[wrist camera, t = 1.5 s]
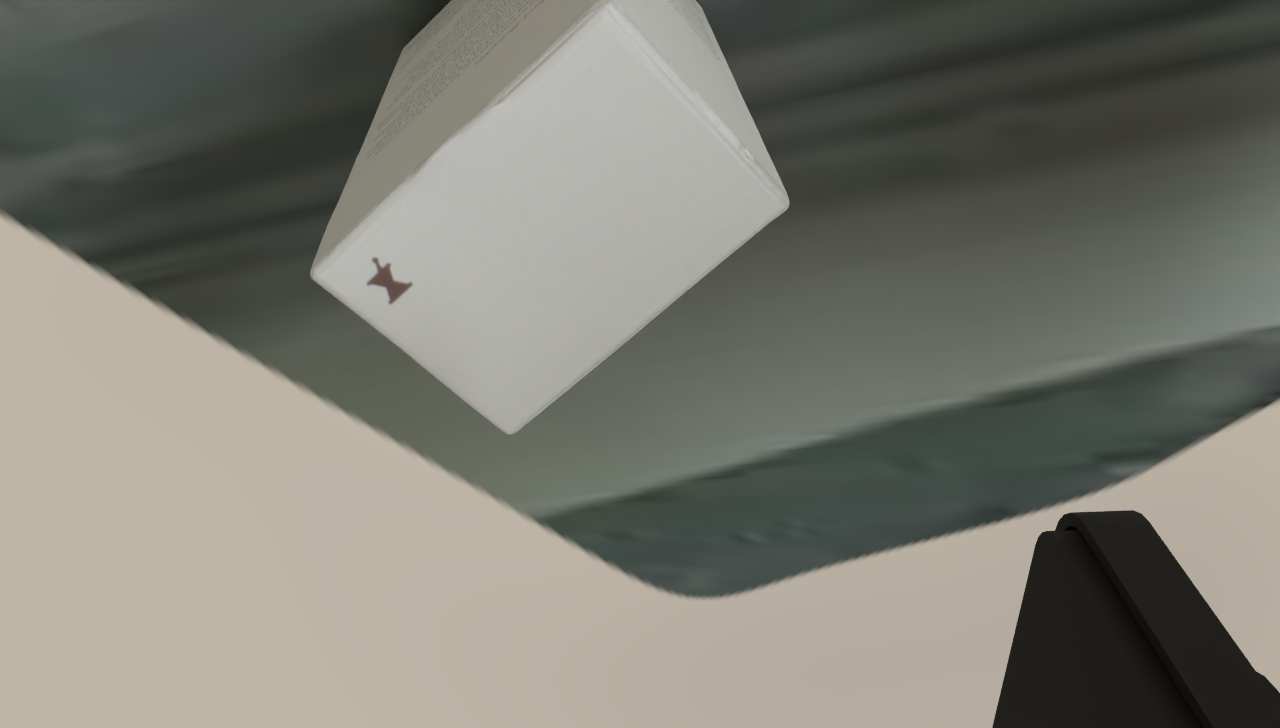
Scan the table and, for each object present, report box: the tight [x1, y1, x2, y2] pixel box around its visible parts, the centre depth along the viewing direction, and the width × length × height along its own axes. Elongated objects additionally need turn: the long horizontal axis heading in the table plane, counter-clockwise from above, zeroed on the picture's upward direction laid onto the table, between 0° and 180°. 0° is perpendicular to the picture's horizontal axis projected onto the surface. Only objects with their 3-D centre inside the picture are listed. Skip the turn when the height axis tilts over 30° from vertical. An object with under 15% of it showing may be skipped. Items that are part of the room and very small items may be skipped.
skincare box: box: [310, 0, 789, 435], centre depth 21 cm, size 6×4×12 cm
